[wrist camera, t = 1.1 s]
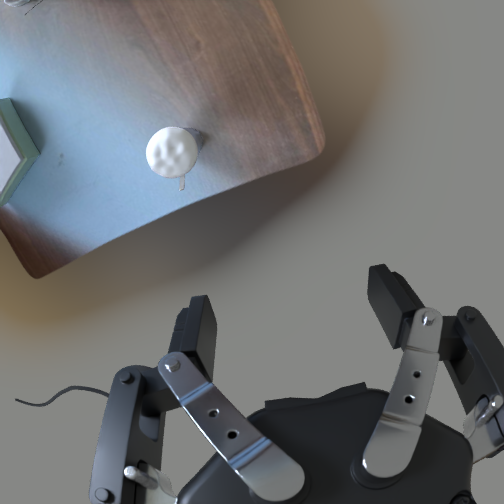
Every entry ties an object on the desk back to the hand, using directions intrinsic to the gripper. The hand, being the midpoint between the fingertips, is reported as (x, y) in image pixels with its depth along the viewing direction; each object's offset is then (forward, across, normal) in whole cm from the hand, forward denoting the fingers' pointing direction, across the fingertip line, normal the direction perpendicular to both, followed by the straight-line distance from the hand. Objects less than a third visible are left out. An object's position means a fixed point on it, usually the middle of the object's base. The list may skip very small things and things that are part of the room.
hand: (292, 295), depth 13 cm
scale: (+21, -36, +15) cm, 45 cm away
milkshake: (+21, -7, +6) cm, 23 cm away
